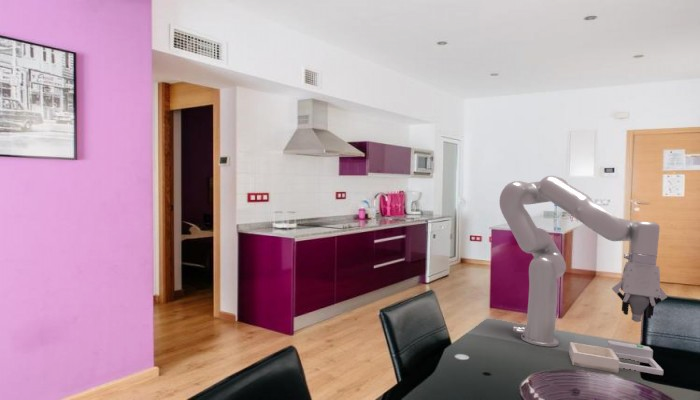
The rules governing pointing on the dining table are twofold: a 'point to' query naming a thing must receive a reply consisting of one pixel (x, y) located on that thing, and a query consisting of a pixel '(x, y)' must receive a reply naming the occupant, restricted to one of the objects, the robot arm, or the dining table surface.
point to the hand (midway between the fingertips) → (636, 315)
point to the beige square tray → (593, 357)
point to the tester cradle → (635, 356)
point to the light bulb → (638, 306)
